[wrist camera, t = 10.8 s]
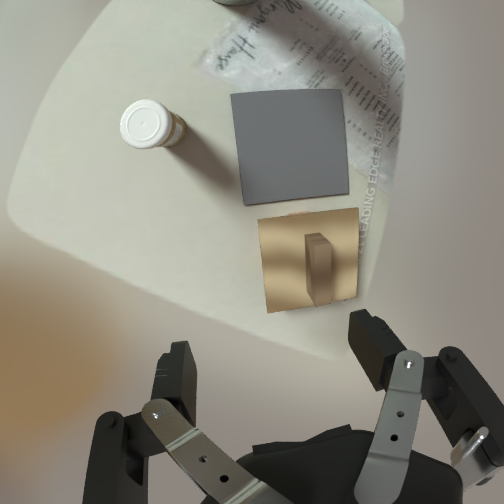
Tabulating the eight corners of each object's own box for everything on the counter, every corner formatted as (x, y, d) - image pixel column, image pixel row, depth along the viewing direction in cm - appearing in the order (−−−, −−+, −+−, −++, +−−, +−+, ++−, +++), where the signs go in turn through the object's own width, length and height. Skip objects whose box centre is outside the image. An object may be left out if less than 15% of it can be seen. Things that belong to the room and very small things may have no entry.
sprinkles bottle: (176, 107, 33) (154, 88, 21) (192, 135, 35) (178, 131, 22) (145, 125, 34) (110, 117, 21) (161, 153, 35) (133, 159, 23)
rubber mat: (230, 94, 33) (230, 94, 33) (339, 90, 34) (340, 89, 34) (243, 204, 39) (244, 205, 39) (347, 192, 40) (348, 193, 39)
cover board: (257, 219, 35) (263, 230, 31) (356, 207, 36) (373, 216, 31) (267, 311, 40) (272, 330, 35) (354, 294, 40) (367, 311, 36)
